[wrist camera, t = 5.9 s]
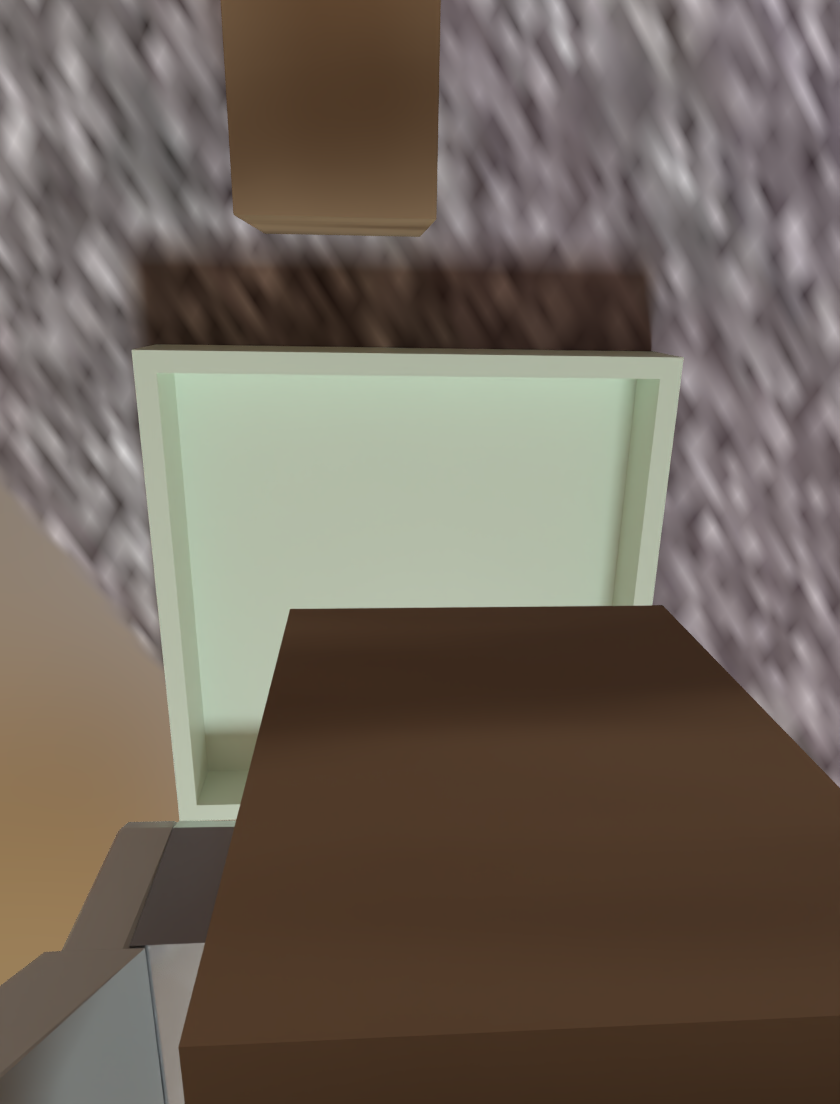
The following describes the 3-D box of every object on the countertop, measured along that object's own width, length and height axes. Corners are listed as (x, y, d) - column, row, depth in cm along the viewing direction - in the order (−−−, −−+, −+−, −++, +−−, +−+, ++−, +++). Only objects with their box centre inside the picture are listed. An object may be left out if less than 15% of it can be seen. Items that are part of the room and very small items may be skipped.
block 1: (256, 53, 20) (218, -29, 15) (422, 59, 21) (440, -19, 15) (265, 233, 22) (233, 215, 17) (420, 236, 22) (435, 218, 17)
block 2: (289, 608, 9) (177, 1047, 4) (662, 605, 9) (1051, 1004, 4) (302, 913, 10) (234, 1541, 5) (624, 901, 11) (873, 1483, 5)
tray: (156, 344, 22) (131, 349, 20) (651, 351, 24) (683, 357, 21) (196, 775, 27) (179, 821, 25) (604, 766, 28) (626, 808, 26)
